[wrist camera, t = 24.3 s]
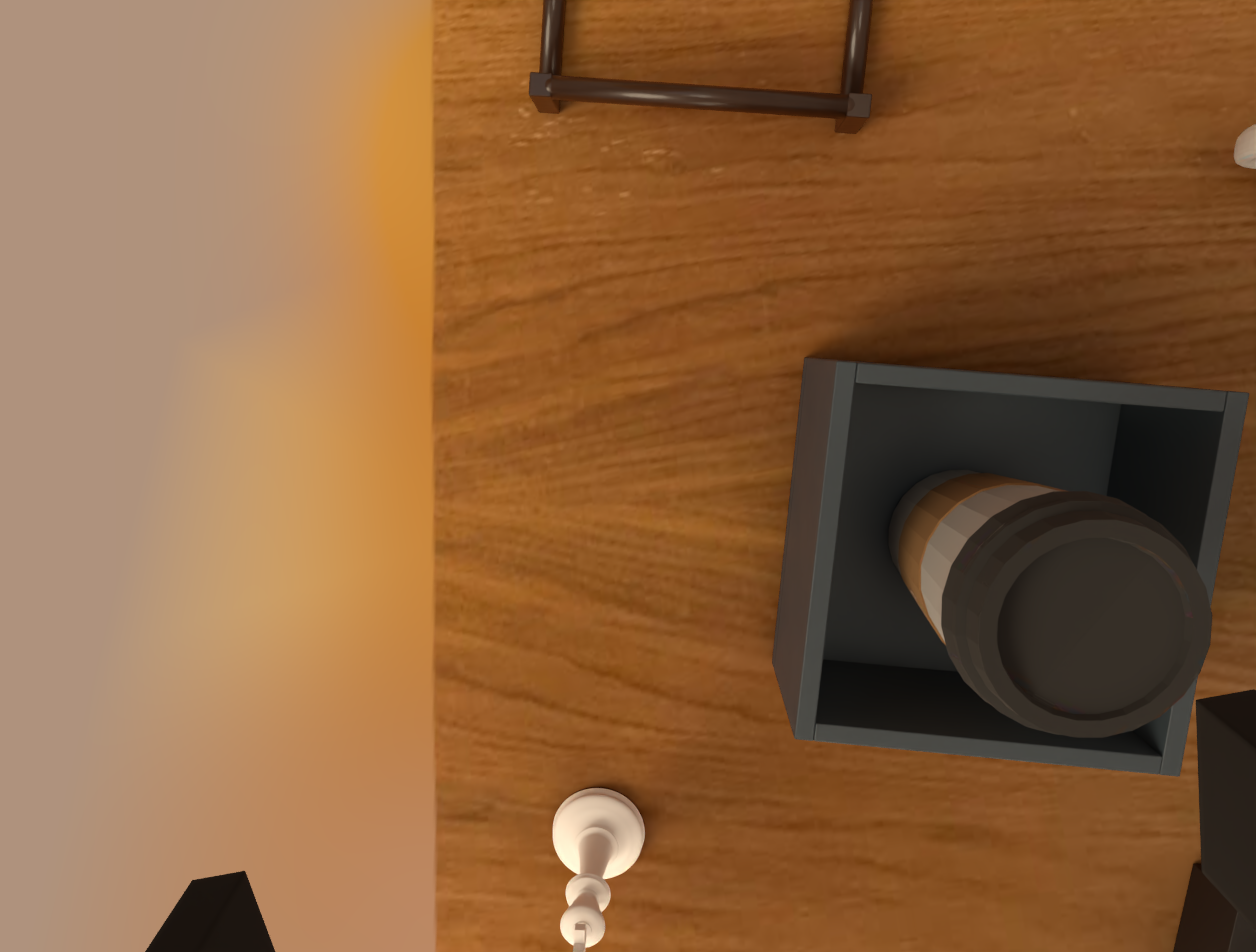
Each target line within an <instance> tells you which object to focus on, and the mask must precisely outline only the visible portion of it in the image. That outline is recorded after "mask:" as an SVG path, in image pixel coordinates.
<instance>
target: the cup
mask: <svg viewBox="0 0 1256 952" xmlns="http://www.w3.org/2000/svg"><path fill="white" fill-rule="evenodd" d="M1234 160H1235V162H1236V163H1237V164H1238V165H1240V166H1242V167H1246V168H1253V169H1256V124H1255V125H1252V126H1251V127H1249V128H1247V129H1246V130H1244V131H1243V132H1242V133H1241V134H1240V136H1239V137H1238V139H1237V141H1236V145H1235V149H1234Z"/></svg>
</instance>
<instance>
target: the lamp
mask: <svg viewBox="0 0 1256 952" xmlns="http://www.w3.org/2000/svg"><path fill="white" fill-rule="evenodd" d="M1174 952H1256V931H1255V930H1254V929H1253V928H1252V927H1251V926H1250V925H1249V924H1248V923H1247V921H1246V920H1245V919H1244V918H1243V917H1242V916H1241V915H1240V914H1239V913H1238V911H1237V910H1236V909H1235V908H1234V907H1233V906H1232V905H1231V904H1230V903H1229V902H1228V900H1227V899H1226V898H1225V897H1224V896H1223V895H1222V894H1221V893H1220V892H1219V891H1218V889H1217V888H1216V887H1215V886H1214V885H1213V884H1212V883H1211V882H1210V881H1209V880H1208V878H1207V877H1206V876H1205V875H1204V874H1203V873H1202V865H1201V864H1193V869H1192V873H1191V877H1190V882H1189V886H1188V890H1187V895H1186V899H1185V904H1184V908H1183V912H1182V917H1181V921H1180V925H1179V930H1178V934H1177V939H1176V943H1175V947H1174Z"/></svg>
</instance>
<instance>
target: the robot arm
mask: <svg viewBox="0 0 1256 952" xmlns="http://www.w3.org/2000/svg"><path fill="white" fill-rule="evenodd" d="M1196 720H1197V749H1198V778H1199V807H1200V836H1201V865H1202V873H1203V874H1204V875H1205V876H1206V877H1207V878H1208V880H1209V881H1210V882H1211V883H1212V884H1213V885H1214V886H1215V887H1216V888H1217V889H1218V891H1219V892H1220V893H1221V894H1222V895H1223V896H1224V897H1225V898H1226V899H1227V900H1228V902H1229V903H1230V904H1231V905H1232V906H1233V907H1234V908H1235V909H1236V910H1237V911H1238V913H1239V914H1240V915H1241V916H1242V917H1243V918H1244V919H1245V920H1246V921H1247V923H1248V924H1249V925H1250V926H1251V927H1252V928H1253V929H1254V930H1255V931H1256V690H1248V691H1243V692H1237V693H1232V694H1226V695H1221V696H1215V697H1209V698H1204V699H1198V700H1196ZM145 952H275V950H274V947H273V945H272V942H271V939H270V937H269V934H268V931H267V929H266V926H265V923H264V920H263V918H262V915H261V913H260V910H259V907H258V905H257V902H256V899H255V897H254V894H253V891H252V888H251V886H250V883H249V880H248V878H247V875H246V872H245V871H242V872H236V873H230V874H225V875H219V876H214V877H208V878H203V879H197V880H192V881H191V883H190V885H189V886H188V888H187V889H186V891H185V892H184V894H183V895H182V897H181V898H180V900H179V901H178V903H177V904H176V906H175V908H174V909H173V911H172V912H171V913H170V915H169V916H168V918H167V919H166V921H165V923H164V924H163V926H162V927H161V929H160V930H159V932H158V933H157V935H156V936H155V938H154V939H153V941H152V942H151V944H150V946H149V947H148V948H147V950H146V951H145Z"/></svg>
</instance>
